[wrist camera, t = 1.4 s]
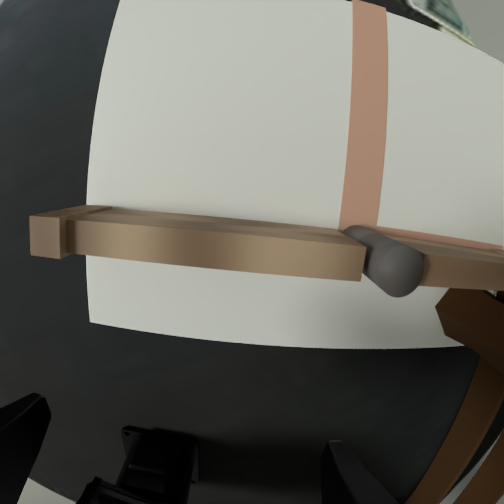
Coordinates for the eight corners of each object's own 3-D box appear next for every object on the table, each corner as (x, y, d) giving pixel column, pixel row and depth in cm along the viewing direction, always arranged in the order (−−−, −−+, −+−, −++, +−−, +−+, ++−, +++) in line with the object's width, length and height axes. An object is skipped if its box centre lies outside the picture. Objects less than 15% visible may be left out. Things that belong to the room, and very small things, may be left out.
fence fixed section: (496, 275, 19) (552, 301, 13) (335, 259, 19) (373, 296, 12) (502, 247, 19) (560, 267, 12) (340, 223, 18) (383, 243, 12)
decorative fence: (385, 518, 26) (416, 606, 11) (342, 526, 26) (364, 622, 11) (494, 251, 19) (649, 317, 4) (438, 247, 19) (624, 333, 4)
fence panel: (334, 226, 18) (372, 246, 12) (330, 257, 18) (364, 289, 12) (86, 204, 17) (29, 215, 12) (86, 233, 18) (30, 254, 12)
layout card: (474, 341, 21) (478, 344, 20) (93, 318, 20) (89, 322, 19) (504, 65, 16) (508, 63, 15) (126, -8, 15) (123, -12, 14)
